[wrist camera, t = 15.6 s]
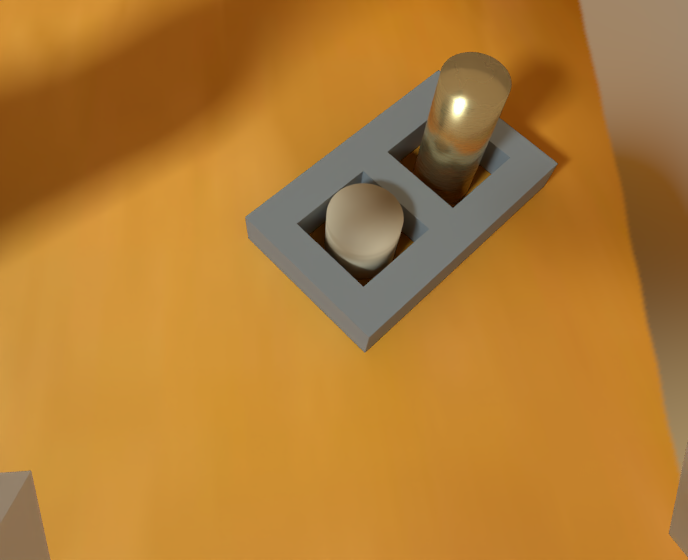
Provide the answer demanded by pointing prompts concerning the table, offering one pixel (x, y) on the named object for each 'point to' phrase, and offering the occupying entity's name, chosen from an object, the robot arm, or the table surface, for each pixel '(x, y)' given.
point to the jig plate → (418, 210)
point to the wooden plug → (363, 229)
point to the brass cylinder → (461, 122)
